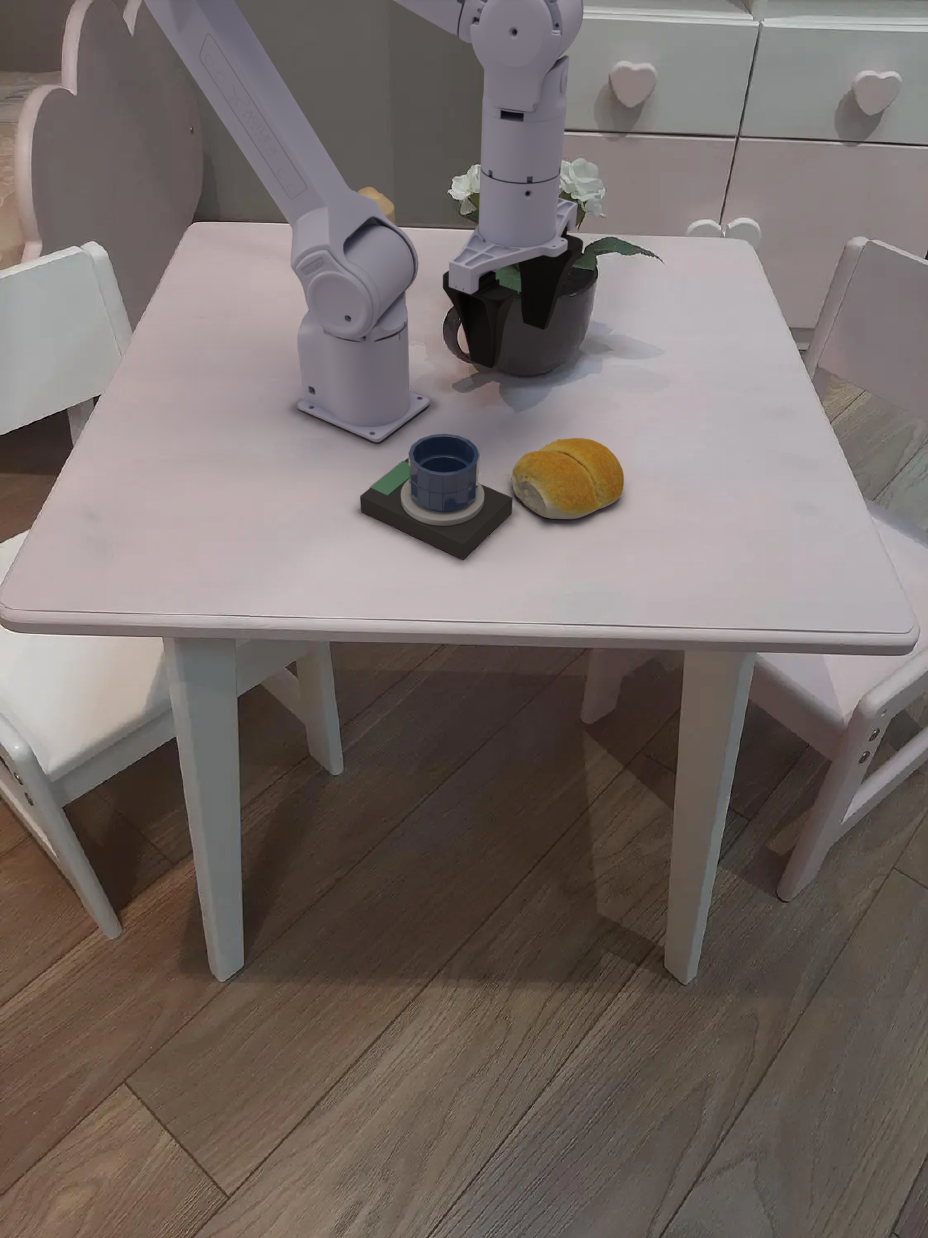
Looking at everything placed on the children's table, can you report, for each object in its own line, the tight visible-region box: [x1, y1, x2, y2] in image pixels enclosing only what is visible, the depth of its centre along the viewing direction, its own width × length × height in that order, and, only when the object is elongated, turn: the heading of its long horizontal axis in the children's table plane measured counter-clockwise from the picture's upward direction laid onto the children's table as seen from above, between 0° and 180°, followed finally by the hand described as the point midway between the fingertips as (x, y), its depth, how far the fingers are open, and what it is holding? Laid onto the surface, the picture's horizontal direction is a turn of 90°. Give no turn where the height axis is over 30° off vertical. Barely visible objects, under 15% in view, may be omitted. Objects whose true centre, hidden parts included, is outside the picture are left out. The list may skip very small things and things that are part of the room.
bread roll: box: [510, 437, 625, 520], centre depth 77 cm, size 8×9×4 cm
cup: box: [407, 433, 480, 512], centre depth 72 cm, size 5×5×4 cm
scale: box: [359, 457, 514, 560], centre depth 75 cm, size 10×7×2 cm
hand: (510, 343), depth 76 cm, fingers open, 7 cm apart
